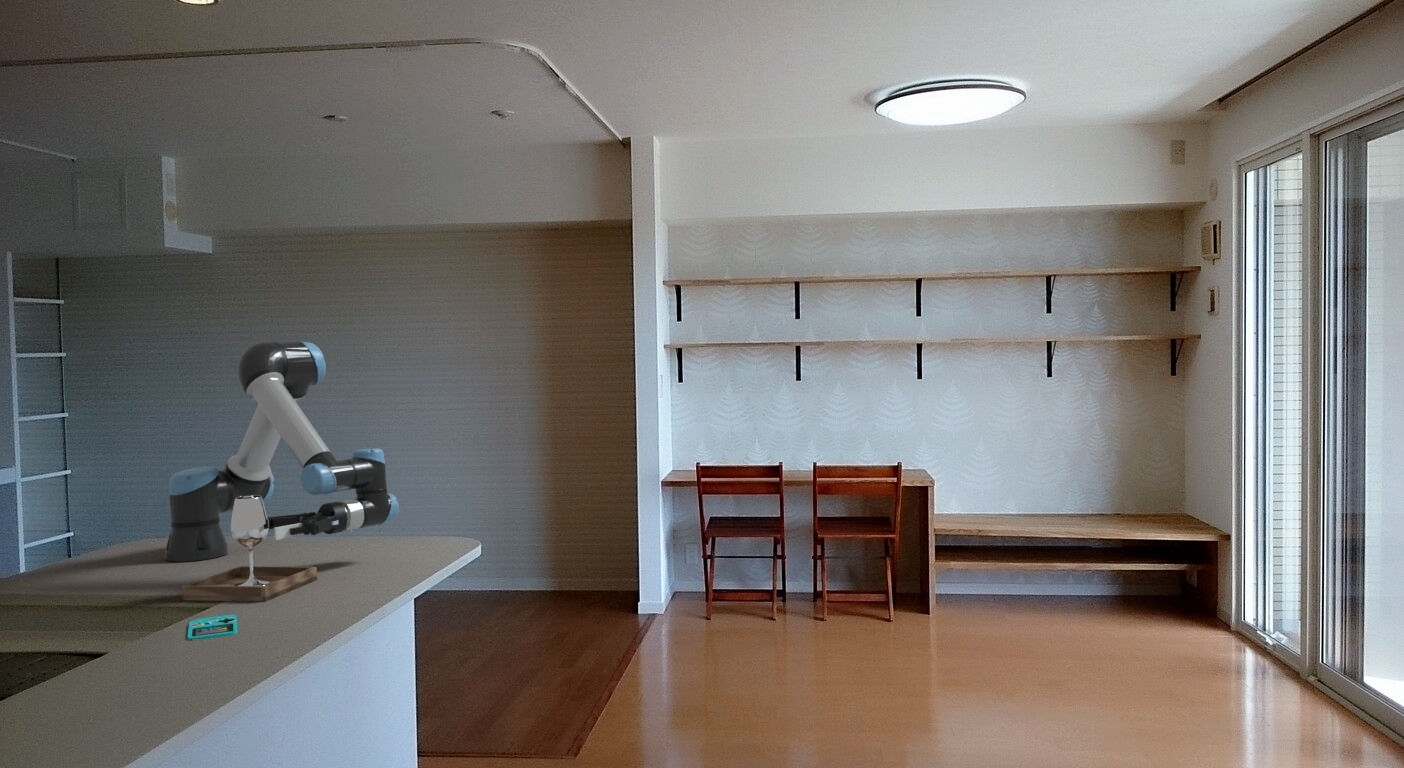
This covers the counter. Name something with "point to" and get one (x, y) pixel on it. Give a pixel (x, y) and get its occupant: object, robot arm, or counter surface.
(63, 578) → the counter surface
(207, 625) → the handheld gaming console
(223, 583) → the walnut tray
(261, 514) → the wineglass
